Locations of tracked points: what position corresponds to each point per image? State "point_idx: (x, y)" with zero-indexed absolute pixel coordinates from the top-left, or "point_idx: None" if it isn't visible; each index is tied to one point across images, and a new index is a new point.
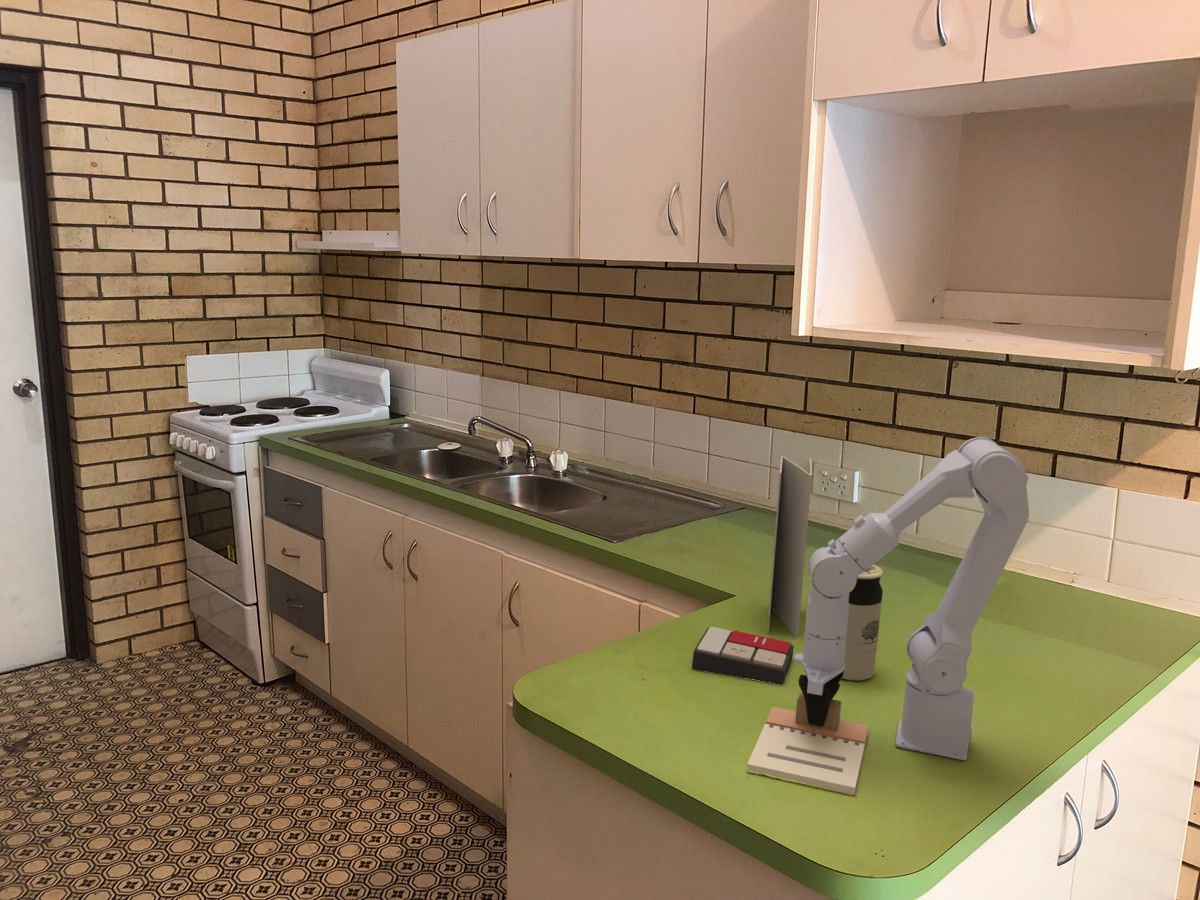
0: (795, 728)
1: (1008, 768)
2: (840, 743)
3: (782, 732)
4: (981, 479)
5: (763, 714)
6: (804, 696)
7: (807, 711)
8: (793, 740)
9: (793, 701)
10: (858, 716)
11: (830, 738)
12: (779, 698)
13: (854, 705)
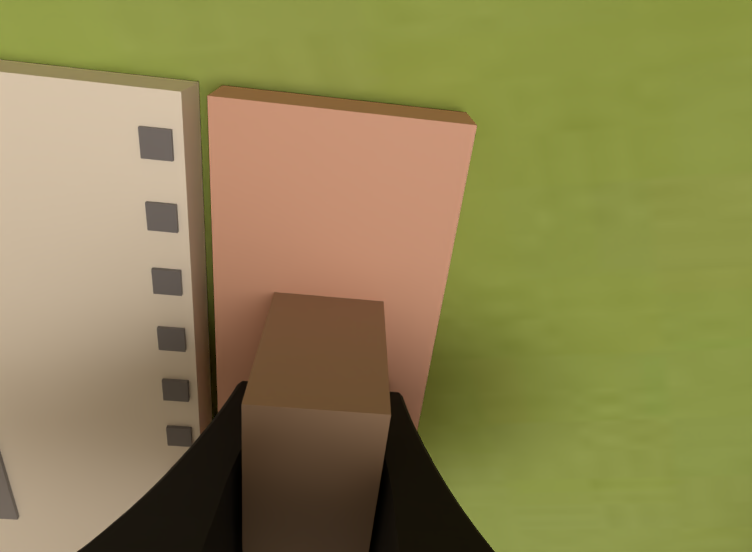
0: (218, 294)
1: None
2: None
3: (113, 223)
4: None
5: (455, 49)
6: (95, 538)
7: (201, 435)
8: (47, 294)
9: (684, 235)
10: (546, 513)
11: None
12: (726, 144)
13: (658, 499)
